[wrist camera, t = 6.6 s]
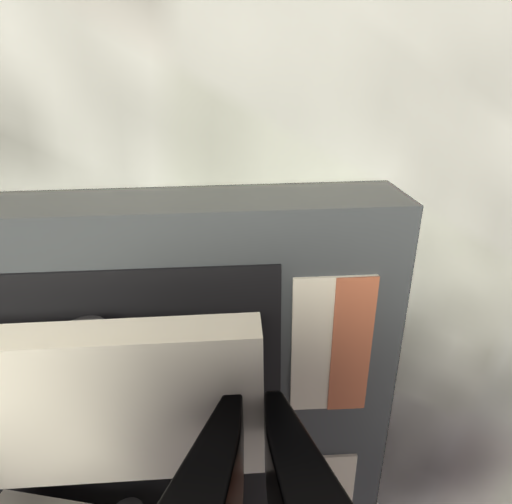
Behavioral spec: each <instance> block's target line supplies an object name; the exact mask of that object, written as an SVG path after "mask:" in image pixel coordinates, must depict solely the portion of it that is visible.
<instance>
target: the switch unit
mask: <svg viewBox="0 0 512 504" xmlns="http://www.w3.org/2000/svg"><path fill="white" fill-rule="evenodd" d="M422 211H423V205H421V204H420V203H419V202H417V201H416V200H414V199H413V198H411V197H410V196H409V195H407V194H406V193H404V192H403V191H402V190H400V189H399V188H397V187H396V186H395V185H393V184H392V183H390V182H389V181H354V182H319V183H285V184H250V185H215V186H181V187H146V188H111V189H77V190H42V191H8V192H0V324H10V323H32V322H53V321H71V320H73V319H76V318H79V317H83V316H90V315H94V316H100V317H103V318H104V319H118V318H139V317H161V316H183V315H204V314H226V313H247V312H260V316H261V325H262V333H263V366H264V392H265V391H281V392H282V393H283V394H284V396H285V397H286V399H287V400H288V402H289V403H290V405H291V406H292V408H293V410H294V411H295V413H296V414H297V416H298V417H299V419H300V421H301V422H302V424H303V425H304V427H305V428H306V430H307V431H308V433H309V435H310V436H311V438H312V439H313V441H314V442H315V444H316V446H317V447H318V449H319V450H320V452H321V453H322V455H323V457H324V458H325V460H326V461H327V463H328V464H329V466H330V467H331V469H332V471H333V472H334V474H335V475H336V477H337V478H338V480H339V482H340V483H341V485H342V486H343V488H344V489H345V491H346V492H347V494H348V496H349V497H350V499H351V500H352V502H353V503H354V504H376V502H377V496H378V490H379V483H380V477H381V471H382V464H383V458H384V452H385V445H386V439H387V433H388V426H389V420H390V414H391V407H392V401H393V395H394V388H395V382H396V376H397V369H398V363H399V357H400V350H401V344H402V338H403V331H404V325H405V319H406V313H407V306H408V300H409V294H410V287H411V281H412V275H413V268H414V262H415V256H416V249H417V243H418V237H419V230H420V224H421V218H422ZM171 480H172V479H156V480H140V481H125V482H109V483H93V484H78V485H62V486H46V487H31V488H15V489H6V490H12V491H18V492H25V493H31V494H37V495H43V496H49V497H55V498H61V499H67V500H73V501H79V502H85V503H91V504H117V503H118V502H119V501H121V500H123V499H125V498H128V497H135V498H138V499H140V500H141V501H142V503H143V504H157V503H158V501H159V500H160V498H161V496H162V495H163V493H164V492H165V490H166V488H167V487H168V485H169V483H170V482H171ZM2 491H3V489H0V493H1V492H2ZM243 504H268V502H267V492H266V469H265V473H250V474H244V492H243Z"/></svg>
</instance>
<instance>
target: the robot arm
mask: <svg viewBox="0 0 512 504" xmlns="http://www.w3.org/2000/svg"><path fill="white" fill-rule="evenodd" d="M264 440H265V469H266V492H267V502H268V504H354V503H353V502H352V500H351V499H350V497H349V496H348V494H347V492H346V491H345V489H344V488H343V486H342V485H341V483H340V482H339V480H338V478H337V477H336V475H335V474H334V472H333V471H332V469H331V467H330V466H329V464H328V463H327V461H326V460H325V458H324V457H323V455H322V453H321V452H320V450H319V449H318V447H317V446H316V444H315V442H314V441H313V439H312V438H311V436H310V435H309V433H308V431H307V430H306V428H305V427H304V425H303V424H302V422H301V421H300V419H299V417H298V416H297V414H296V413H295V411H294V410H293V408H292V406H291V405H290V403H289V402H288V400H287V399H286V397H285V396H284V394H283V393H282V392H281V391H265V392H264ZM243 492H244V423H243V398H242V395H241V394H234V395H223V396H222V397H221V399H220V401H219V402H218V404H217V406H216V407H215V409H214V411H213V412H212V414H211V416H210V417H209V419H208V420H207V422H206V424H205V425H204V427H203V429H202V430H201V432H200V434H199V435H198V437H197V439H196V440H195V442H194V444H193V445H192V447H191V449H190V450H189V452H188V454H187V455H186V457H185V458H184V460H183V462H182V463H181V465H180V467H179V468H178V470H177V472H176V473H175V475H174V477H173V478H172V480H171V482H170V483H169V485H168V487H167V488H166V490H165V492H164V493H163V495H162V496H161V498H160V500H159V501H158V503H157V504H243Z"/></svg>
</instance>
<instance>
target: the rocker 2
mask: <svg viewBox="0 0 512 504" xmlns="http://www.w3.org/2000/svg"><path fill="white" fill-rule="evenodd" d="M0 504H91V503H85V502H79V501H73V500H67V499H61V498H55V497H49V496H43V495H37V494H31V493H25V492H18V491H12V490H6V489H3V491H2V492H1V493H0ZM117 504H143V503H142V501H141V500H140V499H138V498H135V497H128V498H125V499H123V500H121V501H119V502H118V503H117Z"/></svg>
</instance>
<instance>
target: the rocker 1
mask: <svg viewBox="0 0 512 504" xmlns="http://www.w3.org/2000/svg"><path fill="white" fill-rule="evenodd" d="M234 394H241V395H242V398H243V423H244V474H250V473H265V440H264V366H263V333H262V325H261V316H260V312H247V313H226V314H204V315H183V316H161V317H139V318H118V319H104V318H103V317H100V316H94V315H90V316H83V317H79V318H76V319H73V320H71V321H53V322H32V323H10V324H0V489H15V488H31V487H46V486H62V485H78V484H93V483H109V482H125V481H140V480H156V479H172V478H173V477H174V475H175V473H176V472H177V470H178V468H179V467H180V465H181V463H182V462H183V460H184V458H185V457H186V455H187V454H188V452H189V450H190V449H191V447H192V445H193V444H194V442H195V440H196V439H197V437H198V435H199V434H200V432H201V430H202V429H203V427H204V425H205V424H206V422H207V420H208V419H209V417H210V416H211V414H212V412H213V411H214V409H215V407H216V406H217V404H218V402H219V401H220V399H221V397H222V396H223V395H234Z"/></svg>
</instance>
